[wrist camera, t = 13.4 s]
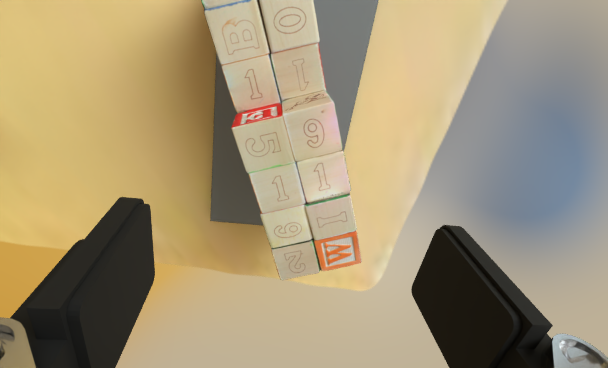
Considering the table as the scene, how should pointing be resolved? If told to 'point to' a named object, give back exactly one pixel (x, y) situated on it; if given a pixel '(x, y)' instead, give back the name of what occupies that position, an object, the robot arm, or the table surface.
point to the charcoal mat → (339, 85)
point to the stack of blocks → (287, 131)
